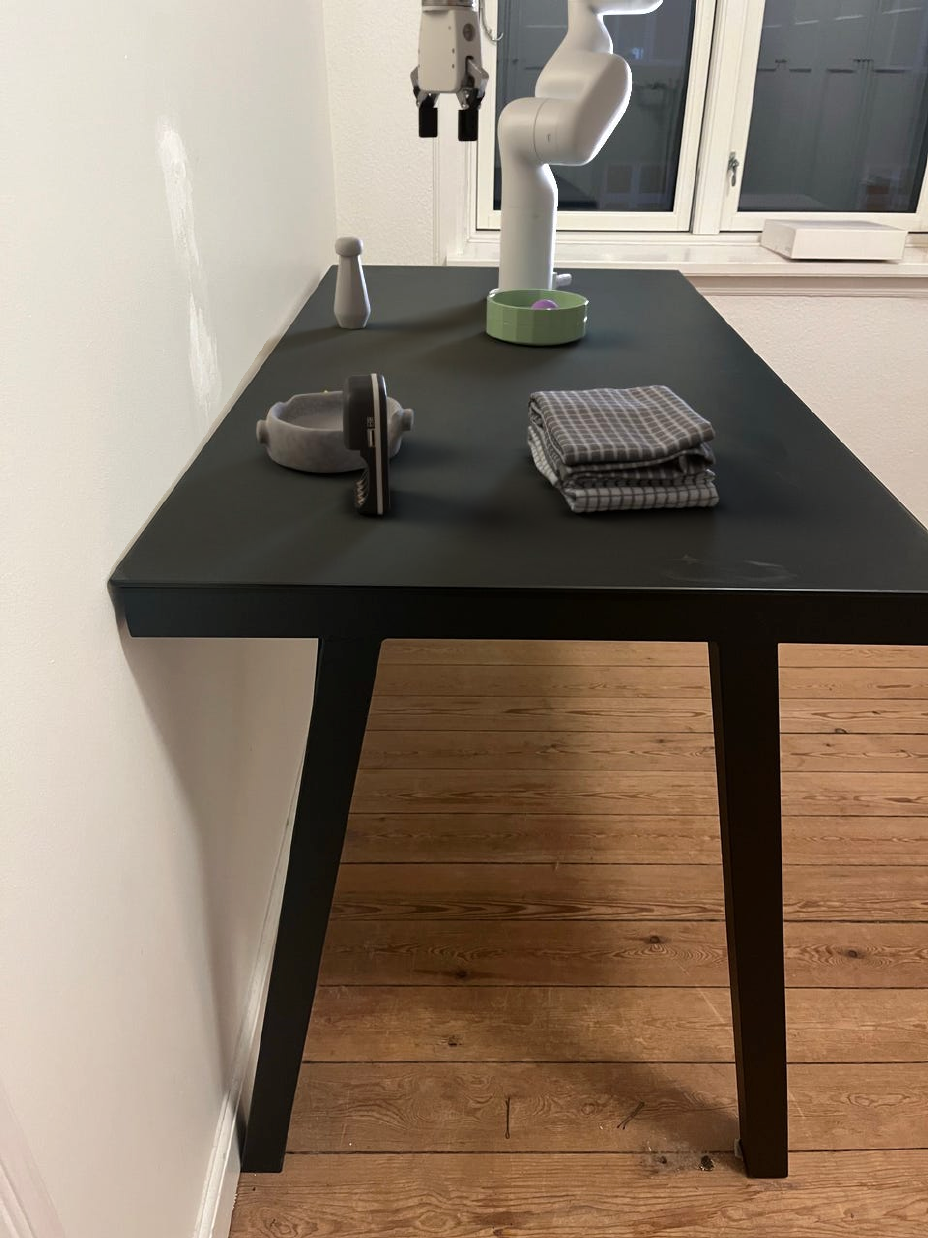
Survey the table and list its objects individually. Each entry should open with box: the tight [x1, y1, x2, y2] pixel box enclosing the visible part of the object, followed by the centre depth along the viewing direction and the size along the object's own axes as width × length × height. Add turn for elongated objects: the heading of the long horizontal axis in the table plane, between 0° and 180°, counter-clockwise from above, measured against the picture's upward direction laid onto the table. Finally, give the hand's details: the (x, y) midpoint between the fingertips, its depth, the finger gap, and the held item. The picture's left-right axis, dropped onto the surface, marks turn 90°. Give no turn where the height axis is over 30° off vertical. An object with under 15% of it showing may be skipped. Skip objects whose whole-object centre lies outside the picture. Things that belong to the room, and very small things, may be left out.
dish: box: [255, 390, 414, 474], centre depth 94 cm, size 14×14×5 cm
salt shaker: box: [333, 236, 372, 330], centre depth 142 cm, size 6×6×13 cm
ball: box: [531, 300, 558, 309], centre depth 139 cm, size 5×5×5 cm
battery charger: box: [342, 373, 391, 516], centre depth 81 cm, size 7×4×11 cm, turn 7°
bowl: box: [485, 289, 589, 346], centre depth 140 cm, size 15×15×6 cm
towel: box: [526, 384, 720, 514], centre depth 89 cm, size 15×18×8 cm
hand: (447, 139), depth 135 cm, fingers open, 9 cm apart
